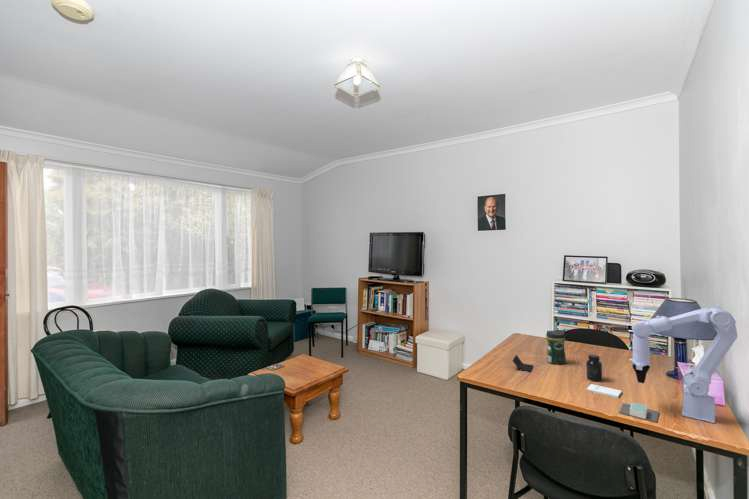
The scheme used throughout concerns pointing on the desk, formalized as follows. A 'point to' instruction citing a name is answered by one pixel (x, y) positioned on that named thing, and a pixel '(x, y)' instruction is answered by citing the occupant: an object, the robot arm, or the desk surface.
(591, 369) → the supplement bottle
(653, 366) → the desk surface
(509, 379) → the desk surface
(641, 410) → the slab
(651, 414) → the mat
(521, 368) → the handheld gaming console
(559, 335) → the coffee jar
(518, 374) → the desk surface
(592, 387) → the external hard drive
